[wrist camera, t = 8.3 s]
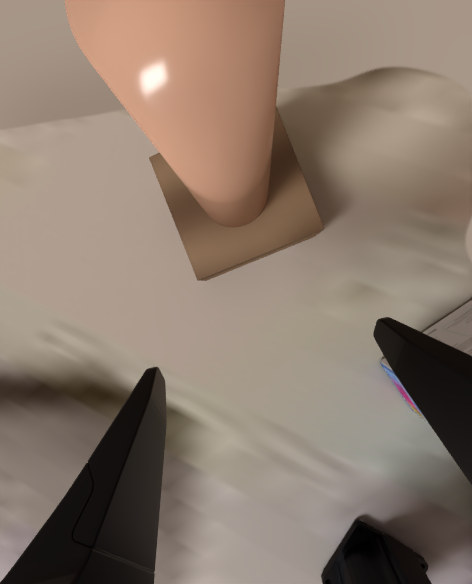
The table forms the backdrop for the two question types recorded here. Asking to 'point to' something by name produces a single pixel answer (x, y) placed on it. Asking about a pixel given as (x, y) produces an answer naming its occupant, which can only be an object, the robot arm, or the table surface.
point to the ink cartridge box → (450, 330)
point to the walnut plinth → (254, 236)
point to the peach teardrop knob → (195, 88)
